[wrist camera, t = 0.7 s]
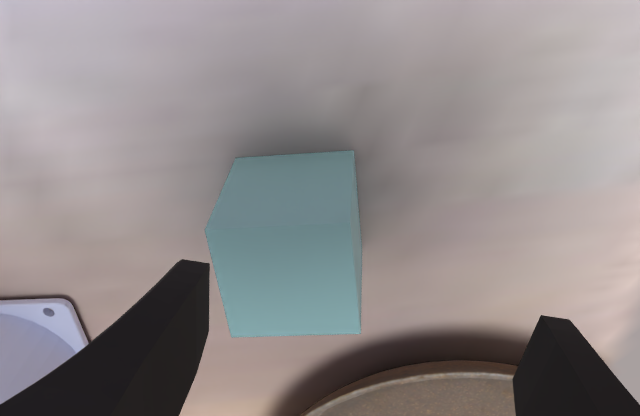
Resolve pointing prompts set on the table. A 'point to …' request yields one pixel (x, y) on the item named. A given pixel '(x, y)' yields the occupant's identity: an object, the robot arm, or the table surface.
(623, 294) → the table surface
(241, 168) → the block
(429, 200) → the table surface
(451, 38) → the table surface
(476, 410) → the plant saucer
